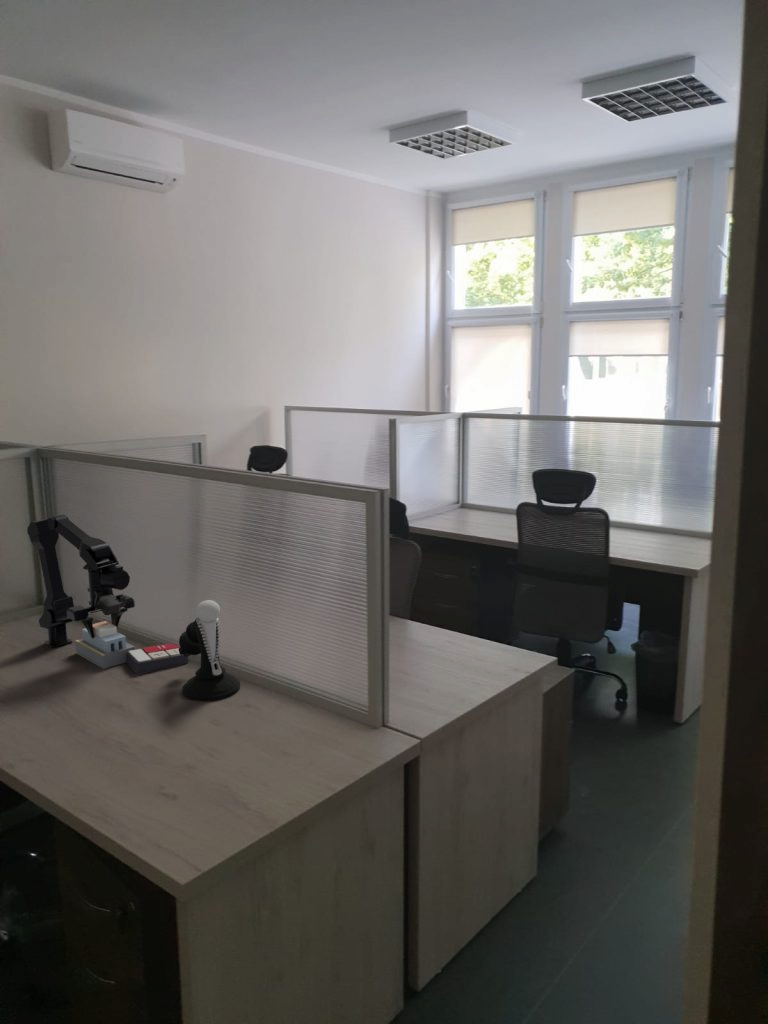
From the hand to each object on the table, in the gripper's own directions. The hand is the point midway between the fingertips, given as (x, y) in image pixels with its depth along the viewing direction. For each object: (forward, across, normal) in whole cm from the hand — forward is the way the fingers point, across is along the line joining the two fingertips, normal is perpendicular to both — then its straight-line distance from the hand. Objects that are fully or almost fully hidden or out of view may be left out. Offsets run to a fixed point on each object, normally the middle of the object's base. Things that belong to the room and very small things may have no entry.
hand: (103, 635), depth 234 cm
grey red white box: (+7, +8, -16) cm, 20 cm away
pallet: (+3, 0, 0) cm, 3 cm away
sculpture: (+7, +9, -40) cm, 42 cm away
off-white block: (-1, 0, -2) cm, 2 cm away
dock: (+7, 0, 0) cm, 7 cm away
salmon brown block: (-1, 0, +2) cm, 2 cm away
